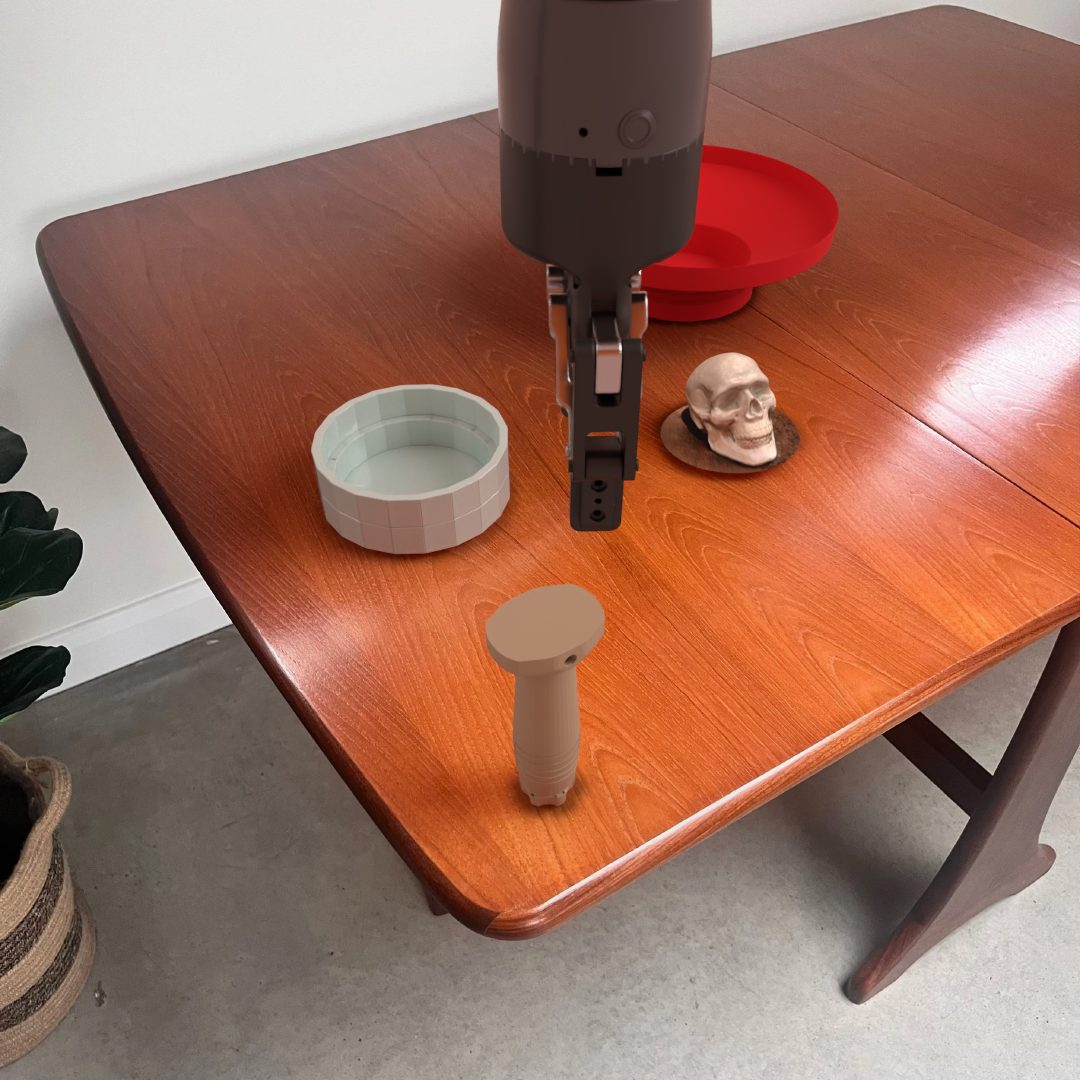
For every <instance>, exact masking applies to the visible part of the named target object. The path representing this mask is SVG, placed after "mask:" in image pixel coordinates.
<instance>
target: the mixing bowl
mask: <svg viewBox="0 0 1080 1080" xmlns="http://www.w3.org/2000/svg"><path fill="white" fill-rule="evenodd" d="M310 453H311V458H312V462H313V468H314V473H315V477H316V483H317V488H318V493H319V498H320V503H321V506H322V510H323V513H324V516H325V520H326V521H327V522H328V524H330V526H331V527H332V528H333V529H334V530H335V531H336V532H337V533H338V534H339V536H341V537H342V538H344V539H346V540H348V541H349V542H352V543H354V544H356V545H358V546H360V547H362V548H364V549H366V550H372V551H377V552H382V553H387V554H394V555H413V554H417V555H418V554H429V553H433V552H434V553H435V552H438V551H441V550H446V549H450V548H454V547H457V546H459V545H462V544H463V543H466V542H468V541H469V540H472V539H474V538H475V537H478V536H479V535H481V534H483V533H484V532H485V531H486V530H487V529H488V528H489V527H490V526H492V525H493V524H494V523H495V522H496V521H497V520H499V518H501V516H502V515H503V512H504V511H505V508H506V507H507V504H508V502H509V501H510V499H511V474H510V473H511V470H510V451H509V427H508V425H507V423H506V421H505V420H504V418H503V416H502V415H501V413H500V411H499V410H498V409H497V408H496V407H495V406H493V405H492V404H491V403H489V402H488V401H487V400H486V399H484V398H483V397H480V396H478V395H476V394H473V393H471V392H468V391H465V390H463V389H461V388H457V387H454V386H453V387H451V386H446V385H439V384H435V383H434V384H433V383H428V384H400V385H395V386H389V387H385V388H380V389H374V390H372V391H369V392H366V393H364V394H362V395H359V396H357V397H355V398H351V399H349V400H347V401H346V402H345V403H343V404H342V405H341V406H338V408H336V409H335V410H333V411H331V412H330V413H329V414H328V415H327V416H326V417H325V419H324V420H323V421H322V422H321V424H320V425H319V426H318V427H317V429H316V430H315V432H314V436H313V440H312V443H311V447H310Z"/></svg>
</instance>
